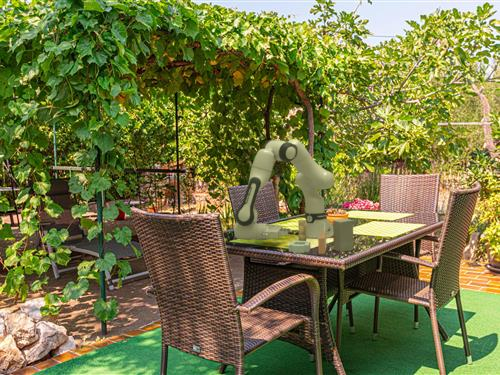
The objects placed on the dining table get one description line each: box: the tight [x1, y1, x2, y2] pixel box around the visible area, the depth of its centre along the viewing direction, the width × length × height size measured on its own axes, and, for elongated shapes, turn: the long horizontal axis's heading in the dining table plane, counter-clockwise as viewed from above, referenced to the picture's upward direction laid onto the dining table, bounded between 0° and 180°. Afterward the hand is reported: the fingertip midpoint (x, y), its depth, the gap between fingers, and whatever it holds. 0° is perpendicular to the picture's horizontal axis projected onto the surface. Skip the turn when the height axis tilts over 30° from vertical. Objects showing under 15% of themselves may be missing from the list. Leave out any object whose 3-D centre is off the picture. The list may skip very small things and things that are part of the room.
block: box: [288, 240, 311, 254], centre depth 260 cm, size 10×14×4 cm
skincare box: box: [332, 218, 354, 253], centre depth 257 cm, size 8×7×16 cm
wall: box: [317, 232, 327, 255], centre depth 257 cm, size 3×18×8 cm, turn 169°
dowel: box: [297, 219, 307, 242], centre depth 270 cm, size 4×4×14 cm
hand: (289, 231), depth 271 cm, fingers open, 8 cm apart
